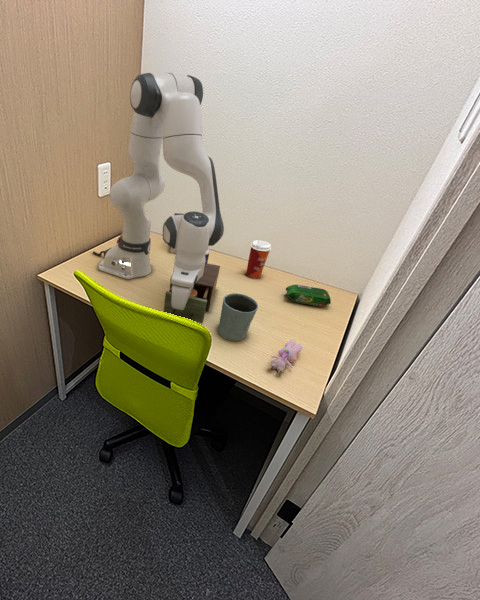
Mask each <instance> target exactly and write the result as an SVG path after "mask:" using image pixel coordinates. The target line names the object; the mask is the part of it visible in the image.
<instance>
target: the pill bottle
mask: <svg viewBox="0 0 480 600" xmlns="http://www.w3.org/2000/svg"><path fill="white" fill-rule="evenodd" d="M209 247H210V246H208V249H207V250H206V253H205V258H206V261H205V263H207V264H208V262H209V257H210V248H209Z"/></svg>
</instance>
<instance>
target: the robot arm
mask: <svg viewBox="0 0 480 600" xmlns="http://www.w3.org/2000/svg"><path fill="white" fill-rule="evenodd" d="M203 99H204V88H203V83H202V81H201V80H200V79H199V78H197V77H196V76H192V75H190V74H187V75H185V74H180V73H174V72H167V73H166V72H165V73H161V72H160V73H151V72H144V73H140V74H138V75H136V77H135V78H134V79H133V82H132V83H131V85H130V92H129V102H130V106H131V108H132V110H133V116H132V121H131V126H130V134H129V141H128V147H127V148H128V149H127V157H128V159H129V160H130V161H131V162H132V164H133V165H132V166H133V173H132V175H129V176H126V177H122V178H121V179H119V180H118V181H116V182H115V183H114V184H112V186H111V187H110V190H109V199H110V203H111V204H112V206H113V207H114V208H116V210H118V211H119V214H120V217H121V225H122V227H121V229H122V231H121V234H120V235H119V236H118V237H117V240H116V242H115V243H116V245H114V246H112V247H110V248H107V249H106V250H101V251H100V252H99V253H98V252H96V251H92V254H93V255H96V256H98V257H100V256H102V254H103V258H102V259H101V261H100V262H99V264H98V270H99V271H100V272H103V273H107V274H110V275H113V276H115V277H119V278H122V279H124V280H131V279H134V278H135V279H136V278H142V277H145V276H147V275H149V274H150V273H151V272H152V266H151V259H150V252H151V239H152V238H151V221H152V220H151V218H150V217H149V216H148V215H147V214H146V212H145V205H146V203H149V202H151V201H154V200H156V199H157V198H158V197H159V196H160V195H161V194H162V193H163V192H164V190H165V187H166V186H165V185H166V183H165V179H164V176H163V175H162V174H161V169H160V157H161V151H162V154H163V160H164V161H165V162H166V164H167V166H169V167H170V168H171V169H172V170H173V171H176V172H177V173H179V174H182V175H185V176H187V177H191V178H192V179H193V180H195V182H196V183H197V184H198V187H199V192H200V200H201V201H200V202H201V208H202V212H200V211H196V210H195V211H193V210H192V211H188V212H185V213H183V214H184V215H174V214H173V215H171V216H169V217H168V218H167V219H166V220H165V221H164V222H163V224H162V240H163V242H164V243H165V244H166V245H167V246H169V248H170V247H171V248H172V249H176V253H175V255H174V263H173V271H172V274H171V276H172V278H171V277H170V280H171V284H173V286H172V299H171V305H172V308H174V309H178V310H184V308H185V306H186V304H187V301H188V298H189V296H190V294H191V292H192V289H193V287H194V285H195V283H196V282H197V281H198V280H199V278H201V277H202V276H203V272H204V266H205V261H206V258H205V253H206V250H207V249H208V250H209V248H208V246H209V247H213V246H215V245H216V244H217V243H218V242H219V241H220V240H221V239H222V237H223V235H224V233H225V226H224V221H223V217H222V213H221V208H220V201H219V200H220V199H219V192H218V181H217V176H216V170H215V169H216V168H215V165H214V161H213V159H212V157H210V156H208V154H207V153H206V149H205V147H204V142H203V117H202V116H203V115H202V108H201V105H202V102H203Z"/></svg>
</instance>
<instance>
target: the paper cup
mask: <svg viewBox="0 0 480 600" xmlns="http://www.w3.org/2000/svg"><path fill="white" fill-rule="evenodd" d="M271 250H272V244H271V243H270V242H268V241H265V240H260V239H259V240H258V239H257V240H256V239H255V240H253V241H252V243H250V250H249V256H248V261H247V265H246V266H247V267H246V273H245V274H246V276H247V277H248V278H252V279H258V278H260V277H261V275H262V273H263V270H264V268H265V265H266V263H267V259H268V257H269V254H270V251H271Z"/></svg>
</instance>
